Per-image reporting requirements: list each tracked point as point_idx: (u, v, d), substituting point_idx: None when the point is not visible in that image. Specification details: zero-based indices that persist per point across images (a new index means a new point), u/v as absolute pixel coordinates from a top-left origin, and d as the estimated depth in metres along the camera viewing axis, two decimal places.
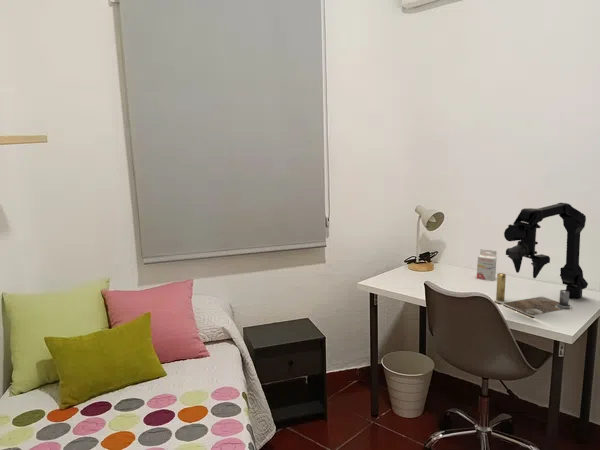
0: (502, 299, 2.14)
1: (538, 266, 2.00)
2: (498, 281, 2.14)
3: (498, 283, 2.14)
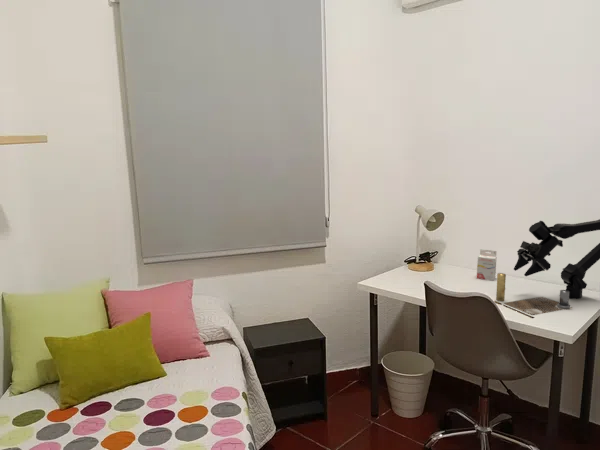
0: (502, 299, 2.14)
1: (535, 268, 2.08)
2: (498, 281, 2.14)
3: (498, 283, 2.14)
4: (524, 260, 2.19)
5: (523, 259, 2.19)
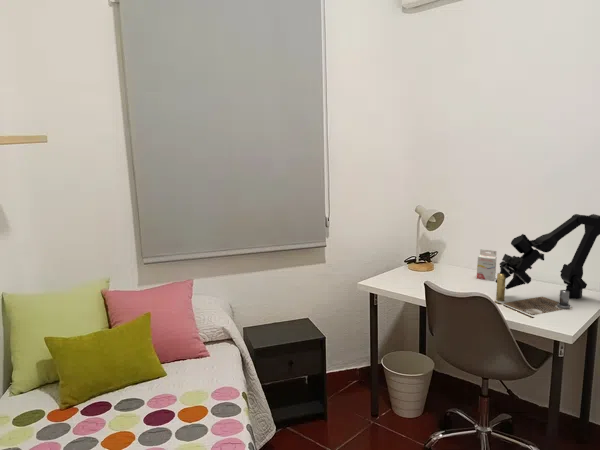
0: (502, 299, 2.14)
1: (516, 281, 2.09)
2: (498, 281, 2.14)
3: (498, 283, 2.14)
4: (506, 273, 2.19)
5: (505, 272, 2.19)
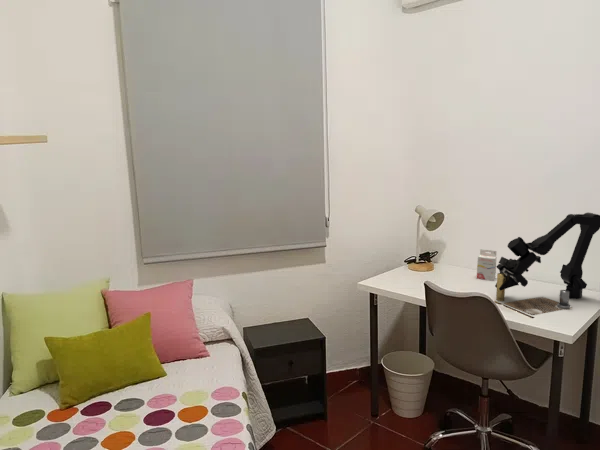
0: (502, 299, 2.14)
1: (510, 282, 2.12)
2: (498, 281, 2.14)
3: (498, 283, 2.14)
4: (506, 277, 2.17)
5: None
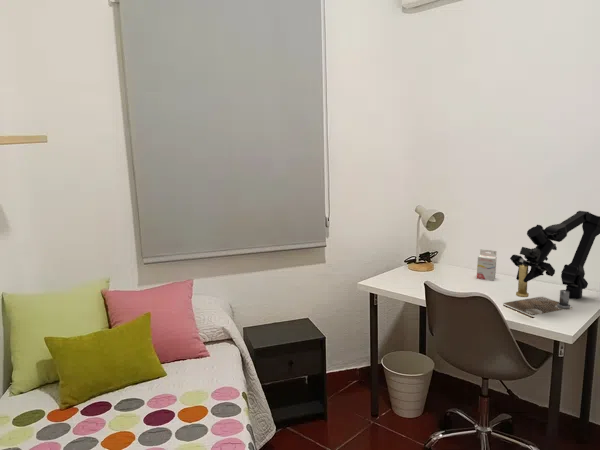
0: (525, 291, 2.03)
1: (534, 273, 2.01)
2: (521, 273, 2.01)
3: (521, 275, 2.01)
4: None
5: None
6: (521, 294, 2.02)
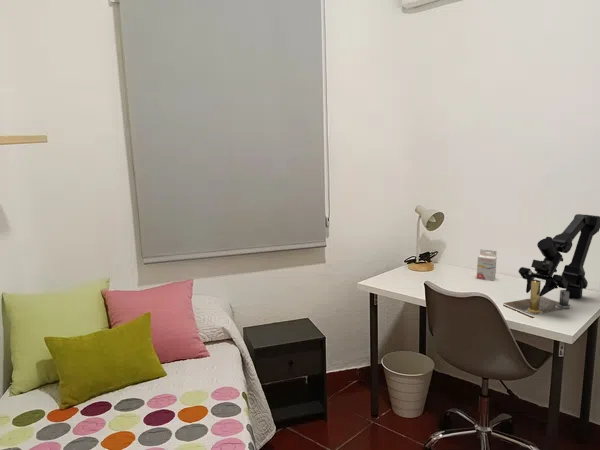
0: (538, 307, 1.99)
1: (548, 286, 1.97)
2: (534, 289, 1.98)
3: (534, 291, 1.98)
4: None
5: (532, 279, 2.03)
6: (534, 310, 1.99)
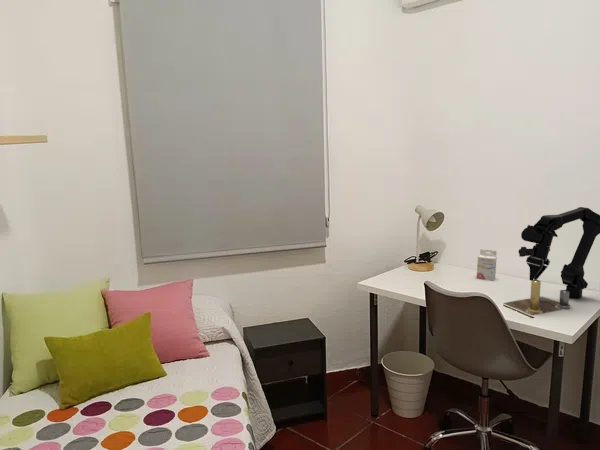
0: (538, 307, 1.99)
1: (534, 268, 2.04)
2: (534, 289, 1.98)
3: (534, 291, 1.98)
4: None
5: None
6: (534, 310, 1.99)
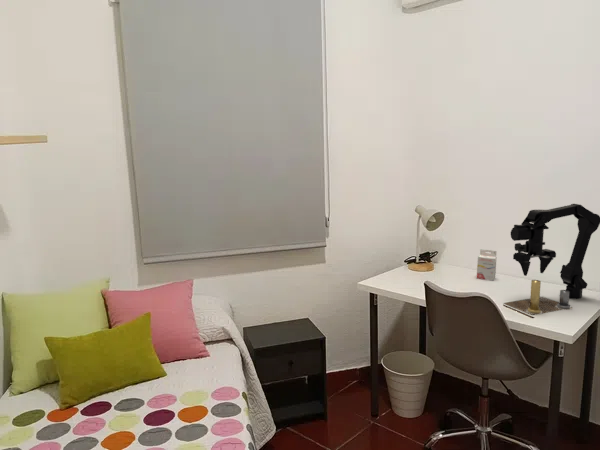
0: (538, 307, 1.99)
1: (524, 264, 2.09)
2: (534, 289, 1.98)
3: (534, 291, 1.98)
4: (544, 259, 2.13)
5: (542, 259, 2.13)
6: (534, 310, 1.99)
